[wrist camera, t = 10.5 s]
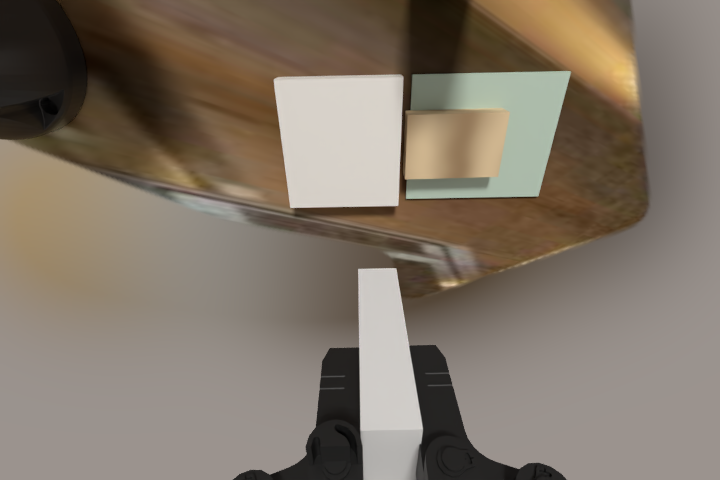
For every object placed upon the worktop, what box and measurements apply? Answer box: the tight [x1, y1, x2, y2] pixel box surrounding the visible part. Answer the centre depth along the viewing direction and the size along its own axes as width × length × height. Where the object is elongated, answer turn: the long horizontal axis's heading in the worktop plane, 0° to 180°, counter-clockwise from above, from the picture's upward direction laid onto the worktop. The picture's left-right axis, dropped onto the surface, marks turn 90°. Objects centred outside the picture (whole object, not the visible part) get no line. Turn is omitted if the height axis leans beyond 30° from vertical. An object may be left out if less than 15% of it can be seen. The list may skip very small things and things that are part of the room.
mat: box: [406, 71, 571, 199], centre depth 35 cm, size 14×12×1 cm
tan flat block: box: [403, 108, 510, 179], centre depth 34 cm, size 9×6×2 cm, turn 92°
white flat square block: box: [274, 75, 403, 208], centre depth 34 cm, size 11×12×2 cm
